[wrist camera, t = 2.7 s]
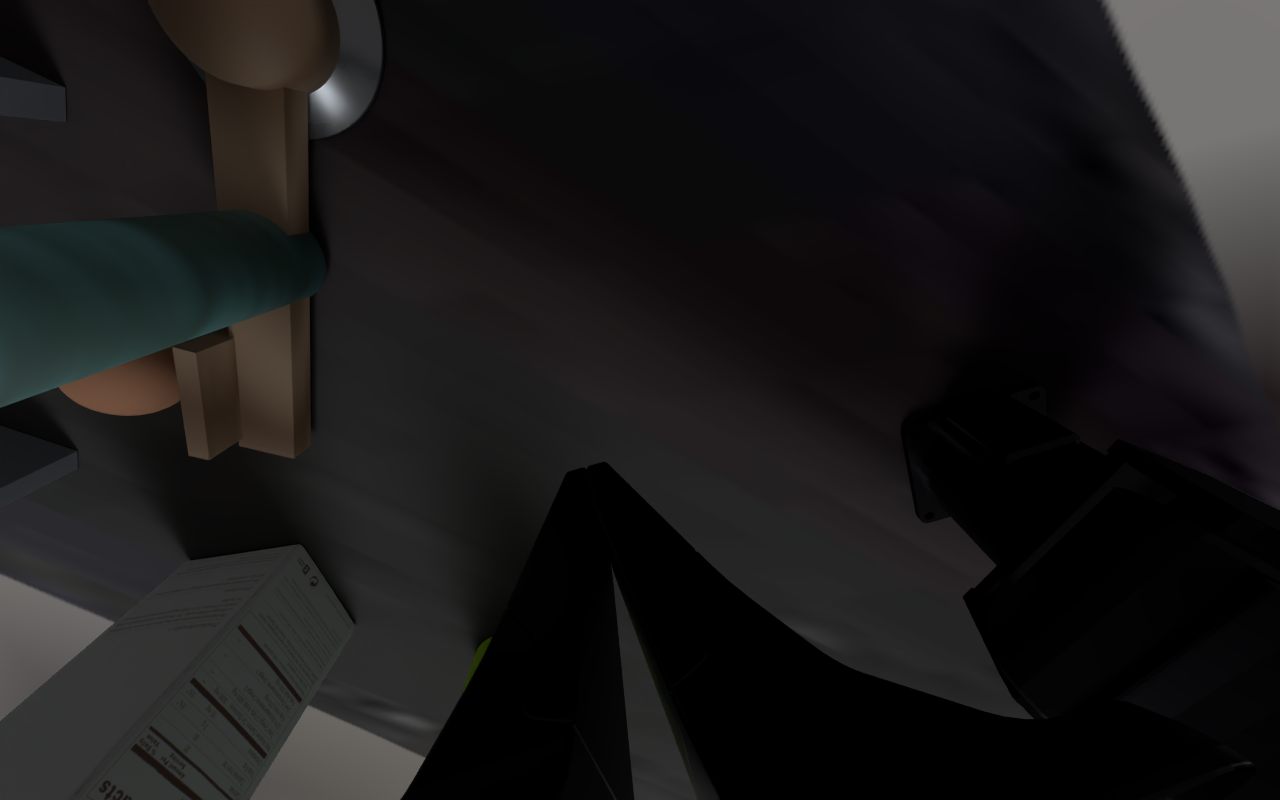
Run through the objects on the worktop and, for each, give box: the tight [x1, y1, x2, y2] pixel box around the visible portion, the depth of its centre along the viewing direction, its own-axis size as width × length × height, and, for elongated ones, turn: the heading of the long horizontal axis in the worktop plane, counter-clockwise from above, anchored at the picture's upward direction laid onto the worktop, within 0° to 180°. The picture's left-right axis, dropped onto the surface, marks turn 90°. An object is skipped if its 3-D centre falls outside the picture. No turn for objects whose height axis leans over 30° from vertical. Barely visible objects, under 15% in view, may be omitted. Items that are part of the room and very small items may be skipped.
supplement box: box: [0, 544, 355, 800], centre depth 22 cm, size 7×7×13 cm
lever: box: [0, 0, 340, 460], centre depth 13 cm, size 19×4×12 cm, turn 163°
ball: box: [59, 342, 185, 416], centre depth 19 cm, size 4×4×4 cm
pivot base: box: [188, 0, 386, 140], centre depth 15 cm, size 7×7×1 cm
